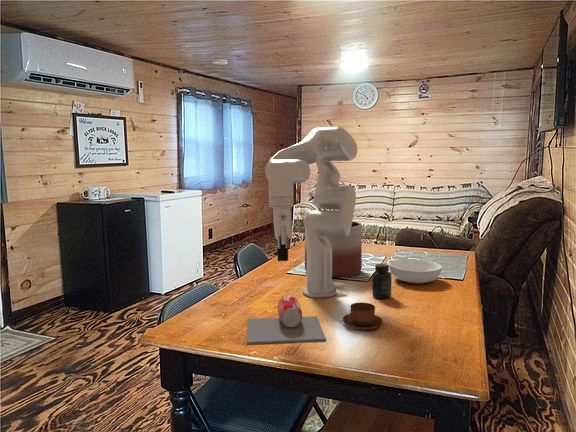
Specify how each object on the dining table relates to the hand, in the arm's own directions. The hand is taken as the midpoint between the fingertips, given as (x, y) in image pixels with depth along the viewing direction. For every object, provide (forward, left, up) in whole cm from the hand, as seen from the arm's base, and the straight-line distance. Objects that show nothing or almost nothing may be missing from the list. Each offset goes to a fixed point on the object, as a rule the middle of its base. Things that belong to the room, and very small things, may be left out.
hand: (282, 260), depth 137 cm
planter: (-27, -57, -20) cm, 66 cm away
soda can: (-2, -2, -15) cm, 15 cm away
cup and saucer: (-24, +7, -20) cm, 31 cm away
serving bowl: (-58, -39, -20) cm, 73 cm away
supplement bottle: (-38, -19, -20) cm, 47 cm away
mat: (0, +9, -19) cm, 21 cm away
